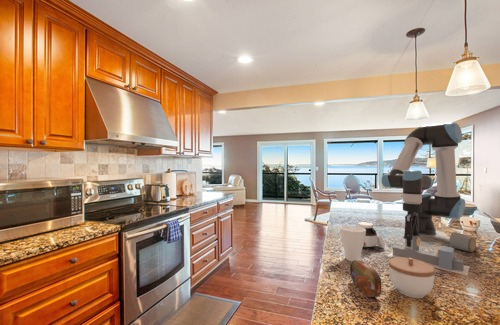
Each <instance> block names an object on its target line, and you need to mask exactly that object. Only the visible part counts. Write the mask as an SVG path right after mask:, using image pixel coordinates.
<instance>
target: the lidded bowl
mask: <svg viewBox="0 0 500 325" xmlns="http://www.w3.org/2000/svg"><path fill="white" fill-rule="evenodd" d="M388 272H389V277H390V281H391V283H392V284H393V285H394V287H395V288H396V289H397V291H398V293H400V294H401V295H403V296H405V297H408V298H412V299H423V298H425V296H427V295H428V294H430V293H431V292H432V290H433V288H434V284H435V274H436V268H435V267H433V266H431V265H430V264H428V263H426V262H423V261H420V260H416V259H413V258H405V257H395V258H393V257H390V259H389V260H388Z"/></svg>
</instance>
